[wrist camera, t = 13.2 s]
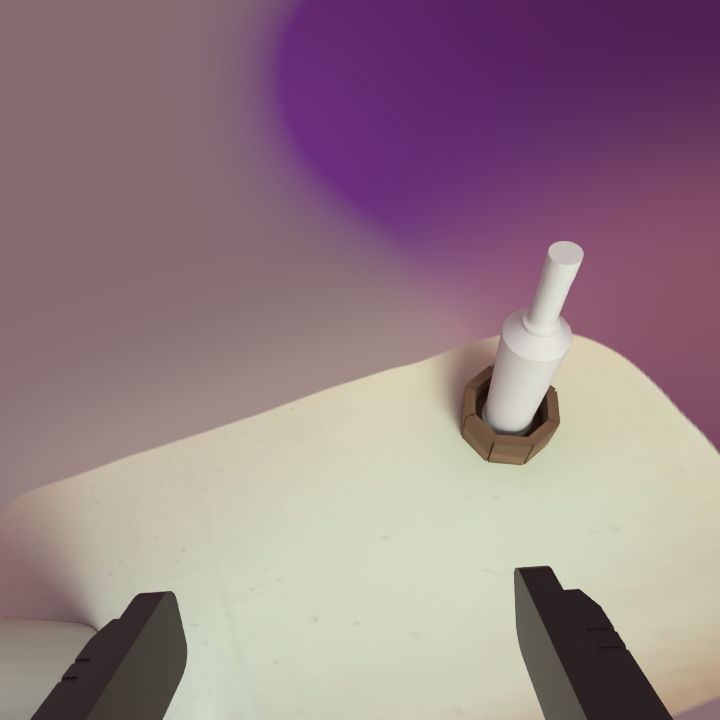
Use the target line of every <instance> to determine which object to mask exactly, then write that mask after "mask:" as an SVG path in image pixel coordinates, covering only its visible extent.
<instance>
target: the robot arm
mask: <svg viewBox="0 0 720 720" xmlns="http://www.w3.org/2000/svg"><path fill="white" fill-rule="evenodd" d="M514 586H515V612H516V629H517V636H518V641H519V646H520V650H521V653H522V656H523V659H524V662H525V665H526V668H527V670H528V673H529V676H530V678H531V681H532V684H533V687H534V689H535V692H536V695H537V698H538V700H539V703H540V706H541V708H542V711H543V714H544V717H545V719H546V720H673V719H672V717H671V715H670V714H669V712H668V711H667V709H666V708H665V706H664V705H663V703H662V701H661V700H660V698H659V697H658V695H657V694H656V692H655V691H654V689H653V687H652V686H651V684H650V683H649V681H648V680H647V678H646V676H645V675H644V673H643V672H642V670H641V669H640V667H639V666H638V664H637V662H636V661H635V659H634V658H633V656H632V655H631V653H630V652H629V650H627V649H626V645H625V644H624V642H623V641H622V639H621V638H620V636H619V634H618V633H617V632H615V630H614V627H613V625H612V624H611V622H610V620H609V619H608V617H607V616H606V614H605V613H604V611H603V609H602V608H601V606H600V605H598V604H597V603H596V602H595V601H593V600H592V599H591V598H590V597H588V596H587V595H586V594H585V593H584V592H582V591H581V590H580V589H572V590H563V588H562V586H561V584H560V583H559V581H558V579H557V577H556V576H555V574H554V572H553V570H552V569H551V567H550V566H536V567H522V568H515V571H514ZM186 661H187V643H186V639H185V634H184V630H183V625H182V621H181V617H180V612H179V608H178V603H177V599H176V596H175V594H174V593H173V592H171V591H166V592H152V593H140V594H138V595H137V596H135V598H134V599H133V600H132V602H131V603H130V604H129V606H128V607H127V609H126V610H125V611H124V613H123V614H122V616H121V617H120V619H113V620H112V621H110V622H109V623H108V624H107V625H106V626H105V627H103V628H102V629H101V630H100V631H99V632H98V633H97V632H96V631H95V630H94V629H93V628H92V627H90V626H87V625H85V624H80V623H72V622H58V621H48V620H34V619H20V618H7V617H0V720H163V717H164V715H165V713H166V711H167V709H168V707H169V704H170V702H171V700H172V698H173V696H174V694H175V691H176V689H177V687H178V685H179V683H180V681H181V678H182V676H183V673H184V670H185V666H186Z"/></svg>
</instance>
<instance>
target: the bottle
mask: <svg viewBox="0 0 720 720" xmlns="http://www.w3.org/2000/svg"><path fill="white" fill-rule="evenodd" d="M583 255H584V254H583V250H582V249H581V248H580V247H579V246H578V245H576V244H574V243H572V242H568V241H561V242H557V243H554V244H553V245H552V246H550V248H549V251H548V254H547V257H546V261H545V263H544V267H543V270H542V276H541V279H540V282H539V285H538V288H537V291H536V294H535V297H534V301H533V304H532V307H530V308H523V309H520V310H518V311H515V312H513V313H512V314H511V315H510V316H509V317H508V318H507V319H506V320H505V323H504V325H503V328H502V332H501V337H500V341H499V346H498V351H497V355H496V360H495V365H494V370H493V374H492V379H491V384H490V389H489V393H488V398H487V401H486V402H485V404H484V407H483V409H482V413H481V418H482V421H483V422H484V423H485V424H486V425H487V426H488V427H489V428H490V429H491V430H493V431H494V432H495V433H496V434H497V435H506V436H519V437H524V436H525V435H526V434H527V433H528V432H529V430H530V428H531V425H532V422H533V416H534V414H535V412H536V411H537V409H538V407H539V405H540V403H541V401H542V399H543V397H544V396H545V394H546V392H547V390H548V388H549V386H550V384H551V382H552V380H553V379H554V377H555V375H556V373H557V371H558V369H559V367H560V365H561V364H562V362H563V360H564V358H565V356H566V354H567V352H568V350H569V349H570V345H571V342H572V339H573V337H572V333H571V329H570V326H569V325H568V324H567V323H566V321H565V320H564V319H563V318H562V317H561V316H559V313H560V310H561V308H562V306H563V303H564V301H565V298H566V295H567V293H568V290H569V288H570V286H571V283H572V281H573V280H574V278H575V276H576V273H577V271H578V268H579V266H580V263H581V261H582V258H583Z"/></svg>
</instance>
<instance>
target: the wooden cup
mask: <svg viewBox="0 0 720 720" xmlns="http://www.w3.org/2000/svg"><path fill="white" fill-rule="evenodd" d="M493 370H494V365H493V366H489V367H487V368H486V369H485V370H484V371H482V372H481V373H480V374H479V375H477V376H476V377H475V378H473V379H472V380H471V381H470V382H468V383H467V385H466V386H465V393H464V399H463V405H462V434H461V435H463V439H464V440H465V441H466V442H467V443H468V444H469V445H470V446H471V447H472V448H473V449H474V450H475V451H476V452H477V453H478V454H479V455H480V456H481V457H482V458H483V459H484V460H485V461H486V460H487V459H488V462H492V463H504V464H515V465H522V464H523V463H524V464H526V463H527V462H528V461H529V460H530V459H531V458H532V457H534V456H535V455H536V454H537V453H538V452H539V451H540V450H542V449H543V448H544V447H545V446H546V445H547V444H548V442H549V441H550V439H551V437H552V436H553V434H554V433H555V431H556V429H557V428H558V426H559V424H560V416H559V407H558V397H557V392H556V391H555V388H554V387H552V386H551V385H550V386H549V388H548V390H547V392H546V394H545V396H544V397H543V399H542V401H541V403H540V405H539V407H538V409H537V411H536V412H535V414H534V416H533V422H532V425H531V428H530V430H529V432H528V433H527V434H526V435H525V436H524V437H519V436H506V435H497V434H496V433H495V432H494V431H493V430H491V429H490V428H489V427H488V426H487V425H486V424H485V423H484V422H483V421H482V418H481V413H482V409H483V407H484V404H485V402H486V401H487V398H488V393H489V389H490V384H491V379H492V374H493Z"/></svg>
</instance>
